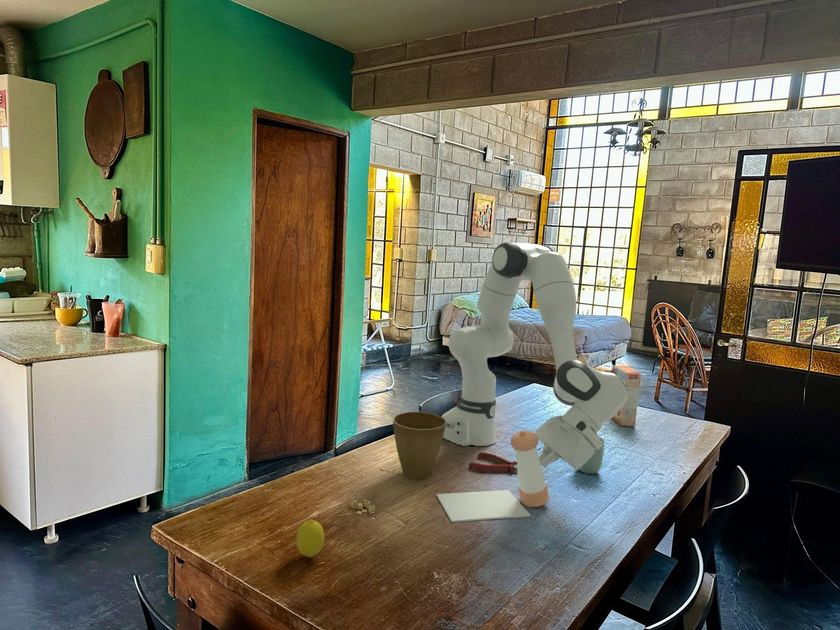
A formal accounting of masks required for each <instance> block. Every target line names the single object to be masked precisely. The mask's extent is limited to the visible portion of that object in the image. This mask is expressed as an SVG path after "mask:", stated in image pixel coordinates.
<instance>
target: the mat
mask: <svg viewBox="0 0 840 630" xmlns="http://www.w3.org/2000/svg"><path fill="white" fill-rule="evenodd" d="M435 496H436V497H438V498H437V499H438V500H439V502H440V504H441V507H442V508H443V510H444V511H445V513H446V514H447V517H448V518H449V520H450V521H451V523H459V522H473V521H474V522H475V521H488V520H501V519H514V518H515V519H519V518H530V517H531V514H530V513H529V512H528V510H527V509H526V508H525V507H524V506H523V504H522V503H520V502H519V500H518V499H517V498H516V496H514V495H513V493H512V492H511V491H510V490H509V489H502V490H488V491H487V490H486V491H485V490H484V491H483V490H482V491H470V492H469V491H468V492H450V493H436V495H435Z"/></svg>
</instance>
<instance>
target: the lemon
mask: <svg viewBox="0 0 840 630" xmlns="http://www.w3.org/2000/svg"><path fill="white" fill-rule="evenodd" d="M324 543H325V531H324V529H323V526H322V525H321V524H320V523H319V522H318V521H316V520H313V519H309V520H307V521H305V522H303V523H302V524H301V525H300V526H299V529H298V531H297V534H296V546H297V549H298V551H299V552H300V553H301V554H302V555H303V556H306V557H308V558H309V559H310V558H312V557H314V556H316V555H318V554H320V552H321V550H322V549H323V547H324Z"/></svg>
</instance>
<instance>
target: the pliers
mask: <svg viewBox="0 0 840 630" xmlns="http://www.w3.org/2000/svg"><path fill="white" fill-rule="evenodd" d="M477 458H478V459H480V458H482V459H481V460H486V459H487V460H486V461H490V460H491V461H490V462H493V461H494V462H493V463H496V464H488V463H487V464H486V463H478V462H476V461H470V462H469V464H468V469H469V470H471V469H472V470H471V471H475V470H476V472H479V471H480V473H490V474H491V473H492V474H495V473H499V474H500V473H501V474H502V473H503V474H504V473H505V474H506V473H509V474H510V475H514V474H517V461H516V460H514V461H509V460H507V459H505V458H503V457H501V456H498V455H496V454H493V453H488V452H484V451H483V452H482V451H480V452H478V453H477Z"/></svg>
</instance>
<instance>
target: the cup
mask: <svg viewBox="0 0 840 630" xmlns="http://www.w3.org/2000/svg"><path fill="white" fill-rule="evenodd" d="M599 438H600V440H601V441H602V443H603V446H602V447H601V448H600V449H598V450H597V449H595V452H594V454H593V455H592V457H591V458H590V459H589V460H588V461H587V462H586V463H585V464H584V465H583V466H581V467H580V468H577V469H578V470H579V471H580V472H582V473H584V474H587V475H595V474H597V473H599V472H600V470H601V467H602V466H603V465H602V464H603V460H604V453H605V452H604V450H605V440H604V439H603V438H602V437H601V436H599Z"/></svg>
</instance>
